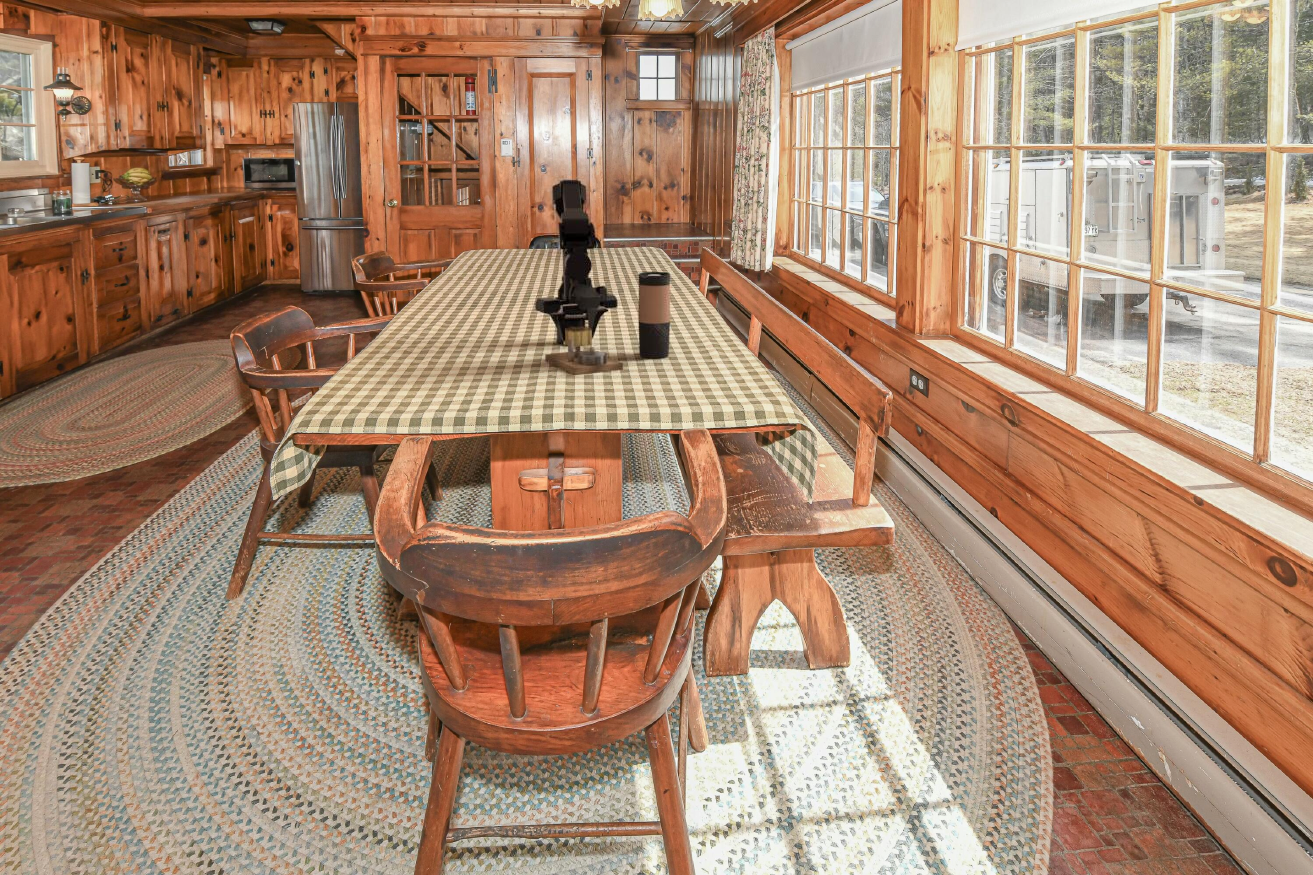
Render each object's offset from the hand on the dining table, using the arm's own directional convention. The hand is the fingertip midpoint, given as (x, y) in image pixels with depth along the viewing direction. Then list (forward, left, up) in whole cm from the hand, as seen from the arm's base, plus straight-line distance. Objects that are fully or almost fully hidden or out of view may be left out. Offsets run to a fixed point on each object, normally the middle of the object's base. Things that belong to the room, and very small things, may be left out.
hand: (577, 339), depth 225 cm
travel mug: (-19, +2, -6) cm, 20 cm away
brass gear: (0, 0, -1) cm, 1 cm away
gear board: (0, +3, -5) cm, 6 cm away
